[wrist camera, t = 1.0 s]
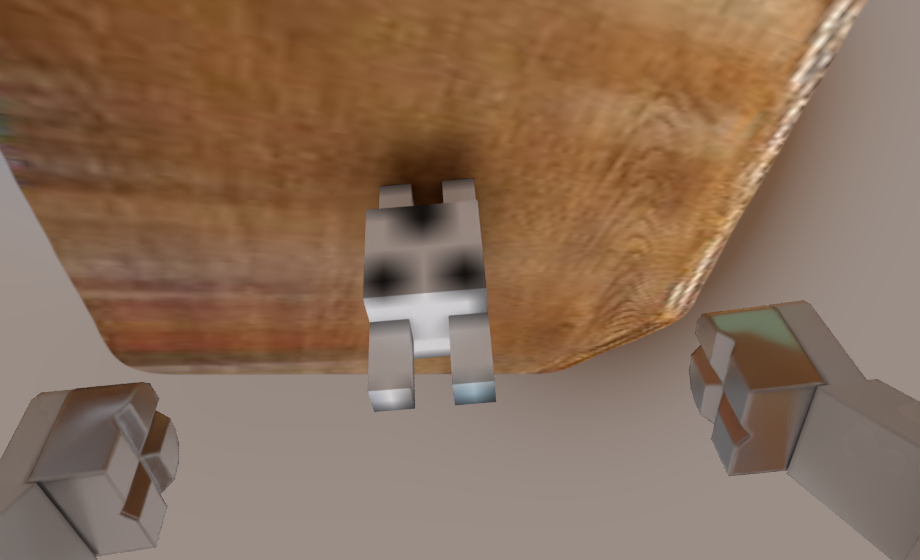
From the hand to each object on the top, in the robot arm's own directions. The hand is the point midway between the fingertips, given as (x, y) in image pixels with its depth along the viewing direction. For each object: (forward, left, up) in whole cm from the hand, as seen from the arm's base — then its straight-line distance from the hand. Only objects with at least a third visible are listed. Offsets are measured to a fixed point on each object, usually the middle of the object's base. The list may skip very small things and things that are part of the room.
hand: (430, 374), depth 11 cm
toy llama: (+32, -9, -36) cm, 49 cm away
